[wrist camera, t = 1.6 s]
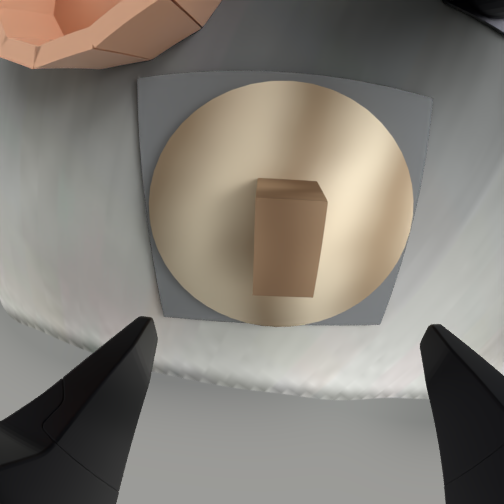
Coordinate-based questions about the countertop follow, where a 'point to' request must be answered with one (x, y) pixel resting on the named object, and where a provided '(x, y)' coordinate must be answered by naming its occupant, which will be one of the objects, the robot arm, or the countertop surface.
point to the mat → (219, 82)
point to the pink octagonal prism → (95, 30)
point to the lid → (281, 203)
